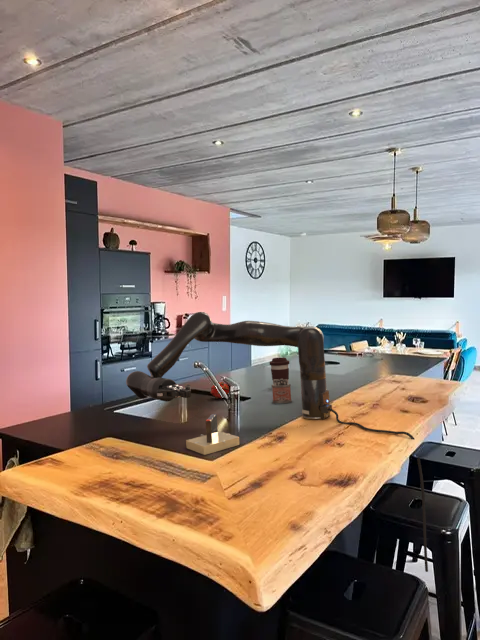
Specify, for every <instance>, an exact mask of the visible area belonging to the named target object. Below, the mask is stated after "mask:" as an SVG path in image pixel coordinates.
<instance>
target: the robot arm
mask: <svg viewBox="0 0 480 640" xmlns="http://www.w3.org/2000/svg"><path fill="white" fill-rule="evenodd" d="M193 340H195V341H198V342H203V343H230V344H231V343H232V344H237V345H238V344H240V345H246V346H256V347H277V346H285V347H286V346H288V347H294V348H297V353H298V364H299V373H300V375H299V376H300V392H301V393H300V394H301V407H302V408H301V413H302V418H303V419H306V420H325V419H327V418H328V417H330V416H331V412H332V413H333V414H334V415H335V420H336V422H337V423H339V424H342V425H349V426H351V425H353V426H357V427H359V428H361V429H363V430H365V431H368V432H373V433H384V434H393V435H407V436H408V437H409V438H410V439H411V440H415V437H414V436H413V435H412V434H411V433H410V432H408V431H395V430H385V429H376V428H375V429H374V428H369V427H366V426H363V425H362V424H360V423H358V422H354V421H346V422H345V421H341V420H340V418H339V413H338V412H337V411H335V410H334V409H333V404H331V403H330V391H329V389H327V374H326V360H325V344H324V343H325V342H324V341H325V336H324V333H323V331H322V330H321V329H320V328H318V326H317V327H316V326H313V325H310V326H289V325H288V326H287V325H282V324H277V323H272V322H265V321H259V320H242V321H238V322H235V323H229V324H223V323H216V322H213V321H212V319H211V317H210V315H209V314H208V313H206V312H205V311H197V312H195V313H193V314H192V315H191V316H190V317H189V318H188V319H187V320H186V321H185V323H183V326H182V327H181V328H180V329H179V331H178V332H177V333H176V334H175V335H174V336H173V338H172V339H171V340H170V342H168V344H167V345H166V346H165V347H164V348H163V349H162V350H161V351H160V352H158V354H157V355H156V356H155V357H153V359H151V361H149V363H147V365H146V368H147V371H148V372H149V373H150V375H149V374H147V373H146V372H143V371H140V370H135V371H133V372H131V373H129V374H128V375H127V377H126V380H125V384H126V387H128V389H129V390H130V391H131V392H132V393H133V394H134V395H135V396H136V397H138V399H140V400H143V399H147V398H151V399H154V400H157V401H162V402H166V403H167V402H171V401H173V400H174V399H177V398H179V399H180V398H184V399H189V398H191V396H192V390H191V389H192V388H191V387H192V386H191V384H186V385H184V386H182V385H179V384H177V383H176V382H175V380H173V379H171V378H165V377H163V376H165V375H166V373H168V372H169V371H170V370H171V369H172V368H173V367H174V366H175V364H176V363H177V362H178V360H179V359H180V357H181V356H182V354H183V352H184V351H185V349H186V348H187V346H188V345H189V344H190V343H191V342H192V341H193ZM416 461H417V466H418V473H419V480H420V481H419V482H420V491H421V492H420V493H421V506H422V508H421V509H422V531H423V532H422V533H423V534H422V535H423V556H424V557H423V558H424V559H423V560H424V570H425V573H429V563H428V547H427V546H428V545H427V517H426V515H427V513H426V497H425V495H426V494H425V484H424V476H423V470H422V469H423V468H422V463H421V458H420V457H418V458H417V459H416Z"/></svg>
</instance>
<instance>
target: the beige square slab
mask: <svg viewBox="0 0 480 640" xmlns="http://www.w3.org/2000/svg"><path fill="white" fill-rule="evenodd" d="M185 442H186V443H185V445H186V446H185V447H186V449H188V450H189V451H193V452H196V453H198V454H200V455H203V456H207V455H209V454H213V453H217V452H219V451H223V450H227V449H231V448H234V447H237V446H240V437H239V436H238V435H235V434H231V433H230V432H229V433H227V432H224V431H218V435H217V436H216V438H215V439H214V441H213V442H212V443H207V436H206V434H205V435H204V434H200V436H198V437H197V436H196V437H193V438H189V439H185Z"/></svg>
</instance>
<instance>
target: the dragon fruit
mask: <svg viewBox="0 0 480 640" xmlns="http://www.w3.org/2000/svg"><path fill="white" fill-rule="evenodd" d="M217 382H218V383H219V384H220V386H221V387H222V389H223V390H224V391H225V392H226V394H228V393H229V386H230V385H229V384H228V383H225V382H223V381H217ZM228 385H229V386H228ZM209 394H211V395H212V396H214V398H215V400H216V399H222V398H221V396H220V394H219V393H218V391H217V389H216V387H215V386H214V385H213V384H212V385H211V387H210V392H209Z"/></svg>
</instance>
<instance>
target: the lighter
mask: <svg viewBox="0 0 480 640" xmlns="http://www.w3.org/2000/svg"><path fill="white" fill-rule="evenodd" d="M279 382H280V383H279ZM284 382H285V383H286V384H285V383H284ZM287 382H288V384H287ZM273 383H276V385H273ZM278 383H279V384H278ZM291 386H292V385H291V383H289V380H288V381H287V379H285V380H283V379H280V380H279V379H275V380H272V384H271V389H272V390H271V391H272V403H273V404H287V403H289V404H290V403H292V395H291V394H292V392H291Z"/></svg>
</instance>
